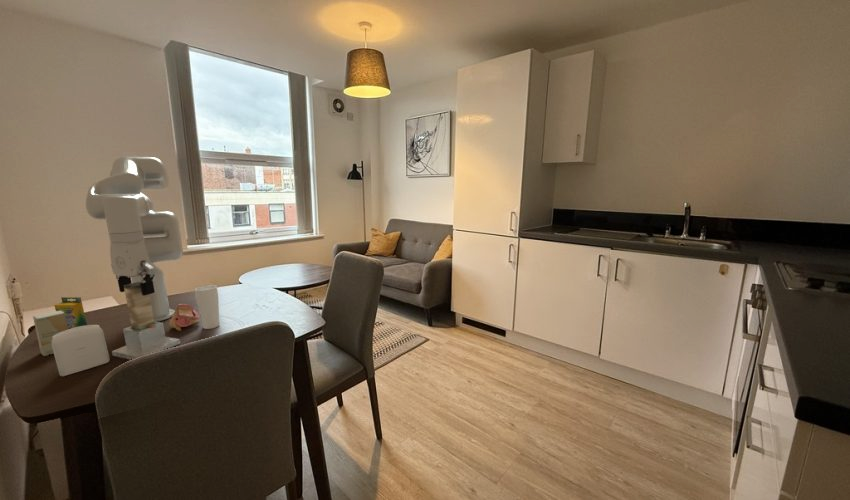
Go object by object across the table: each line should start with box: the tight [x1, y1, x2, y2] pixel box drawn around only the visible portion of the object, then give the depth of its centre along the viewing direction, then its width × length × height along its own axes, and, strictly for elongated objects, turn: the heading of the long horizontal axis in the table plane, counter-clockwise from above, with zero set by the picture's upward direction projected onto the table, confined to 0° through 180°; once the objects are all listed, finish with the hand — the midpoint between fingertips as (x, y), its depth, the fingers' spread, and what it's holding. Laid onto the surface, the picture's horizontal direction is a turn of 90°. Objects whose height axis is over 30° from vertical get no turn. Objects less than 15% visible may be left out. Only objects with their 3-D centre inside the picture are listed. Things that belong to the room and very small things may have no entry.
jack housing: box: [111, 321, 181, 361], centre depth 104 cm, size 12×12×8 cm
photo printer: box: [52, 324, 111, 377], centre depth 94 cm, size 10×4×12 cm, turn 140°
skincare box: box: [32, 310, 68, 357], centre depth 104 cm, size 6×4×12 cm
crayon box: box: [54, 296, 88, 329], centre depth 120 cm, size 7×3×12 cm, turn 90°
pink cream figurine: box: [169, 303, 200, 331], centre depth 122 cm, size 9×10×10 cm
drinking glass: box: [194, 284, 221, 330], centre depth 120 cm, size 7×7×15 cm
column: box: [124, 282, 155, 330], centre depth 102 cm, size 4×4×14 cm
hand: (137, 292), depth 102 cm, fingers open, 9 cm apart
